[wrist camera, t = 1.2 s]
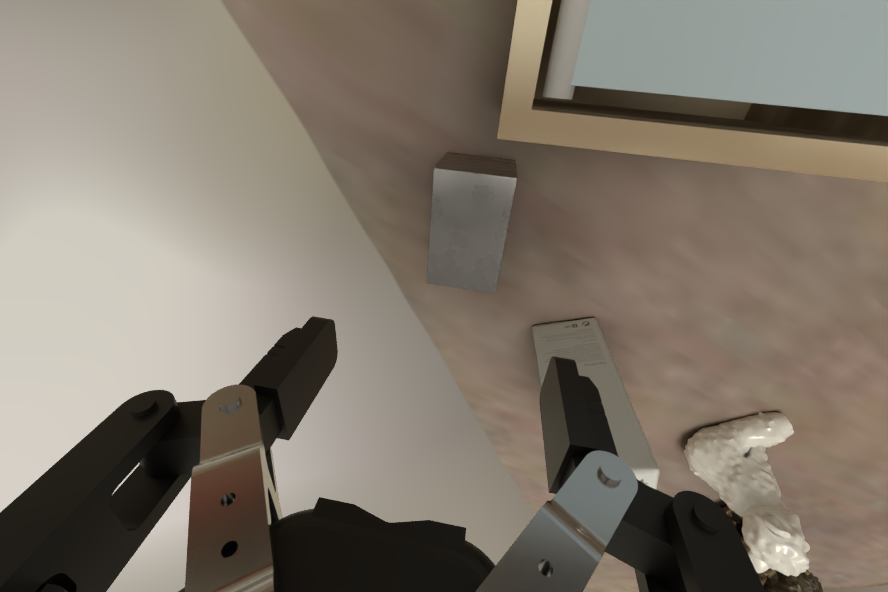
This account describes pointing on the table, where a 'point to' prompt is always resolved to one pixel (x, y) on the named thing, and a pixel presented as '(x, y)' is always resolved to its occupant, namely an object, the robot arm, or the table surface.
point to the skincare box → (599, 387)
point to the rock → (777, 585)
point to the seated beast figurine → (752, 487)
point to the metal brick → (469, 220)
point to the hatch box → (679, 119)
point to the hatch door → (727, 51)
